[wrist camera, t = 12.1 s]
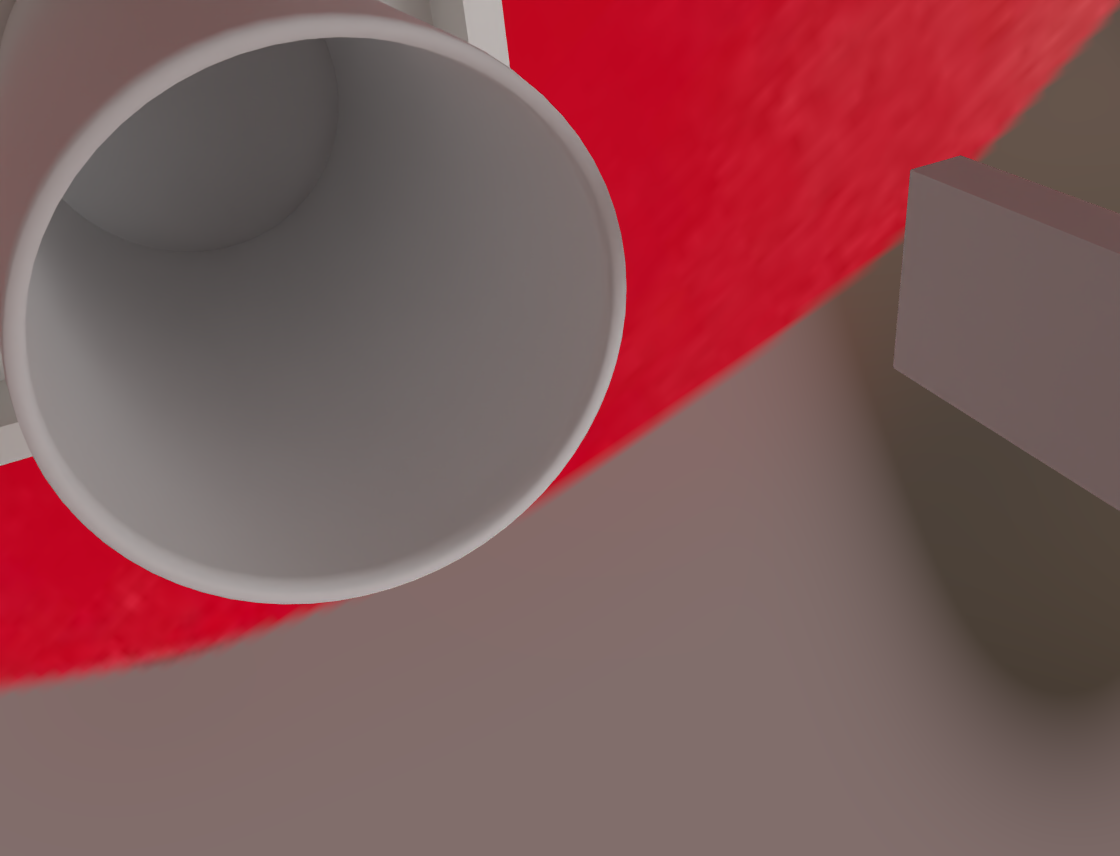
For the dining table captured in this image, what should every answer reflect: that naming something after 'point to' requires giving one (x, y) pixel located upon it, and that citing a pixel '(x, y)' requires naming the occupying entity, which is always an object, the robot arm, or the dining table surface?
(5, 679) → the dining table surface
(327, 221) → the cup
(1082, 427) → the robot arm
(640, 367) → the dining table surface
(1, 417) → the tray
